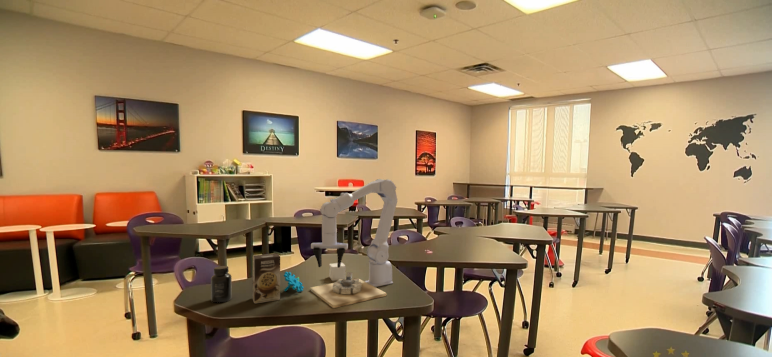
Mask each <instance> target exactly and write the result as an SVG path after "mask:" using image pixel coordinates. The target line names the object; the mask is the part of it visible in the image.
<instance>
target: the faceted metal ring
mask: <svg viewBox="0 0 772 357" xmlns="http://www.w3.org/2000/svg"><path fill="white" fill-rule="evenodd" d="M346 273H347V274H346V279H345V280H351V281H352V284H351V286H350V287H343V281H344V280H342V279H338V280H336V281H334V282H333V283H334V284H333V292H335V293H338V294H340V293H341V294H351V293H352V294H354V293H357V292H360V291H361V289H362V283H361V282H360V281H358V278H357V279H354V278H353V272H352V271H348V272H346ZM353 279H354V280H353Z"/></svg>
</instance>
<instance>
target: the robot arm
mask: <svg viewBox="0 0 772 357" xmlns="http://www.w3.org/2000/svg"><path fill="white" fill-rule="evenodd" d="M396 191H397V185H396V184H395V183H394V181H392V179H389V178H387V179H381V178H379V179H375V180H372V181H370V182H368V183H367V184H365V185H363V186H362V187H359V188H358V189H356V190H355V191H353V192H352V193H348V192H341V193H340V195H339V196H338V197H336V198H331V199H330V201H326V202H324V203H322V205H321V206H320V209H319V211H320V214H321V241H322V242H312V243H311V244H310V249H313V250H312V253H313V255H314V256H315V259H316V262H317V266H318V268H321V267H322V265H323V264H322V263H323V262H322V255H323V254H322V252H323V249H325V250H326V249H330V250H332V249H333V250H334V249H335V250H336V249H337V250H336V254H337V263H338V264H337V266H338V268H339V267H340V265H341V263H342V260H343V257H344V254H345V252H346V250H348V249H349V243H344V242H338V241H337V240H338V238H337V236H338V235H337V234H338V233H337V232H338V231H337V230H338V229H337V226H338V225H337V223H338V222H337V216H338V214H339V213H341V212H342V211H343V212H344V210H347V209H348V208H350V207H351V206H353V205H354V203H355V201H357V200H359V199H361V198H363V197H365V196H367V195H369V194H371V193H373V194H376V195H378V197H380V198H381V200H382V201H383V205H382V206H383V207H382V210H381V213H380V217H379V221H378V225H377V229H376V233H375V235H374V236H375V237H374V238H373V239H372V240H371V243H370V245H369V246H368V247H367V250H366V255H367V257H368V258H369V259H368V280H365V281H364V282H366V283H368V284H370V285H372V286H374V287H376V288H377V287H381V286H387V285H391V284H394V281H393V267H392V263H391V262H390V261H389V260H388V259H389V254H390V253H389V248H390V246H389V243H388V239H389V235H390V231H391V228H392V224H393V220H394V215H395V212H396V208H397V205H398V204H397V203H398V195H397V192H396Z"/></svg>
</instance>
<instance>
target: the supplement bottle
mask: <svg viewBox="0 0 772 357" xmlns="http://www.w3.org/2000/svg"><path fill="white" fill-rule="evenodd" d="M232 281H233V280H232V275H231V273H229V266H227V265H221V266H219V265H218V266H216V267H214V268H213V275H212V276H211V277H210V299H211V300H210V301H211V302H212V301H213V302H217V303H216V304H221V303H220V302H223V303H227V302H229V301H230V300H231V299H232V295H233V294H232V293H233V292H232V289H233V288H232V283H233V282H232ZM226 301H227V302H226ZM213 302H212V303H213ZM218 302H219V303H218Z"/></svg>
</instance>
